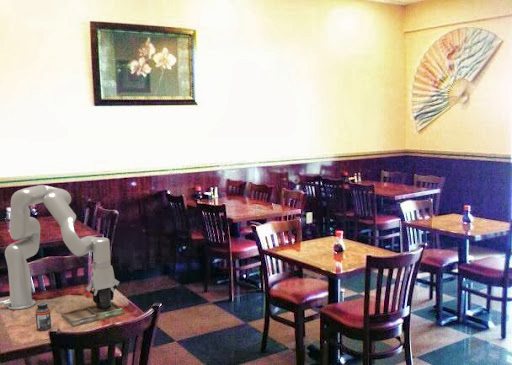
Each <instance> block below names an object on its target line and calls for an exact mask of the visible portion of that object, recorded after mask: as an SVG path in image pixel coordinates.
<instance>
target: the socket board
mask: <svg viewBox="0 0 512 365" xmlns="http://www.w3.org/2000/svg"><path fill="white" fill-rule="evenodd" d="M125 312H126V311H124V310H123V308H122V307H120V306H119V305H117V304H116V303H115V302H113V300H111V307H110V308H108V309H104V310H100V309H97V307H96V304H95V305H89V306H86V307H82V308H81V307H80V308H77V309H73V310H69V311H65V312H61V313H60V317H61V318H62V319H63V320H64V321H65V322H66V323H68V324H69V325H70V326H71V328H74V327H77V326H83V325H86V324H91V323H94V322H95V323H96V322H99V321H103V320H106V319H110V318H114V317H119V316H123V315H126V313H125Z"/></svg>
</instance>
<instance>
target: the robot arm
mask: <svg viewBox="0 0 512 365" xmlns="http://www.w3.org/2000/svg"><path fill="white" fill-rule="evenodd" d="M41 203H43V204H44V206H45V208H46V209H47V210H48V212H50V214H51V215H52V217H53V218H54V220H55V221H56V223H58V225H59V227H60V234H61V237H62V240H63V243H64V244H65V246H66V247H67V248H68V250H69V251H70V252H71V253H72V254H73V255H75V256H77V257H82V256H85V255H87V254H89V253H91V252H92V258H93V260H92V263H90V266H91V268H92V269H91V274H90V275H91V277H90V283H88V285H87V286H86V287H85V290H86V291H87V292H89V293H90V294H91V295H92V302H93V303H94V304H95V305H96V304H97V303H98V296H97V292H98V290H102V289H107V288H110V290H111V301H113V300H114V295H115V294H114V293H115V290H116V289H117V287H118V286H119V284H120V281H119V280H117V279H116V278H115V273H114V268H113V265H111V250H110V249H111V247H110V239H109V238H107V237H104V236H103V237H102V236H101V237H98V236H93V235H87V236H83V237H81V238H80V236H79V235H78V234H77V233H76V231H75V228H74V227H75V226H74V225H75V221H76V219H77V215H76V213H75V212H74V210H73V209H72V208H71V207H70V204H71V203H72V196H71V194H70V193H69V192H68V191H67V190H66V189H63V188H60V187H53V186H52V185H51V186H50V185H47V184H46V185H44V184H38V185H33V186H29V187H25V188H22V189H19V190H17V191H15V192H14V193H13V194H12V195H11V199H10V220H9V235H10V237H11V239H12V240H14V242H12V243H10V244H8V246H7V247H6V248H5V250H4V257H5V260H6V265H7V271H8V272H7V273H8V285H9V296H8V298H6V299H3V300H0V306H2V305H3V306H6V307H7V309H10V310H24V309H29V308H31V307H33V306H34V305H35V304H36V300H35V299H33V298H32V297H33V296H32V286H31V285H32V284H31V271H30V270H31V269H30V265H29V263H28V261H27V259H29V258H31V257H33V256H35V255H37V253H38V251H39V249H40V240H41V239H40V238H41V224H40V221H39V220H38V219H37V218H35V217H33V216H31V210H30V206H35V205H38V204H41ZM91 288H92V289H91Z"/></svg>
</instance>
